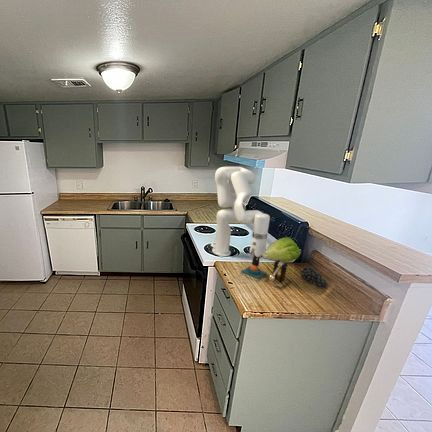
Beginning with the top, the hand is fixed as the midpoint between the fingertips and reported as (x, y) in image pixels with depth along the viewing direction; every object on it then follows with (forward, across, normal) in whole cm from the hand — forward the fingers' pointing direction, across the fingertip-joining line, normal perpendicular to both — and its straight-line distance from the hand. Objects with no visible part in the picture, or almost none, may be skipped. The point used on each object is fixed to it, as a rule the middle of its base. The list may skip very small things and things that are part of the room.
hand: (255, 265), depth 139 cm
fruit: (+7, +17, -25) cm, 31 cm away
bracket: (+7, +4, -12) cm, 14 cm away
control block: (+7, 0, 0) cm, 7 cm away
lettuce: (+7, +34, 0) cm, 35 cm away
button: (+3, 0, 0) cm, 3 cm away
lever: (0, 0, -12) cm, 12 cm away
